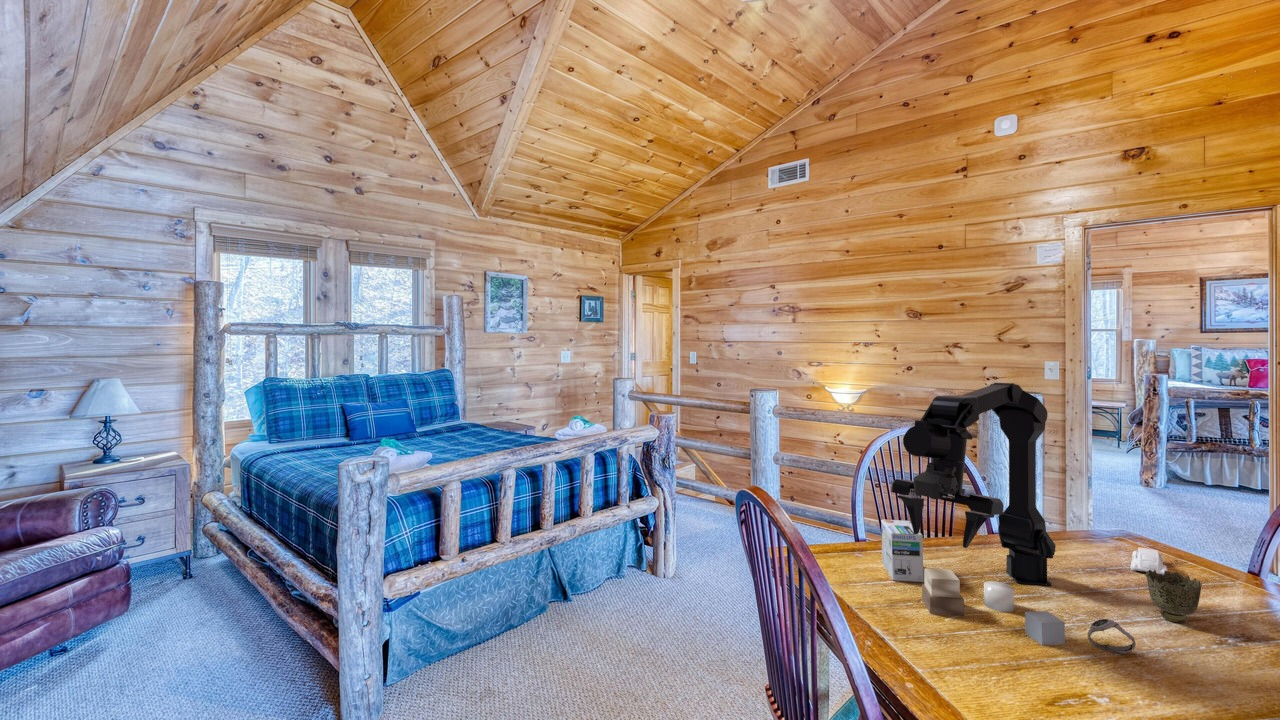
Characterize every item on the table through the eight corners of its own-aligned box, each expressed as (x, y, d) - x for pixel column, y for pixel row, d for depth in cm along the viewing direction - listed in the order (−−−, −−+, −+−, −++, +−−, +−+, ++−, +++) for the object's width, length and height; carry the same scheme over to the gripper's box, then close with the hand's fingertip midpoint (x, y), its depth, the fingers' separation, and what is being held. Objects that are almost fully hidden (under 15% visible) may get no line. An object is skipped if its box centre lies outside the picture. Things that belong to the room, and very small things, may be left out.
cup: (1186, 613, 105) (1186, 571, 104) (1212, 632, 98) (1212, 587, 97) (1138, 607, 107) (1137, 567, 107) (1159, 626, 100) (1159, 582, 100)
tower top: (951, 587, 111) (951, 570, 111) (959, 598, 106) (959, 580, 106) (924, 585, 112) (924, 568, 112) (931, 596, 107) (931, 578, 107)
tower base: (954, 603, 111) (954, 586, 111) (964, 617, 105) (964, 599, 105) (922, 600, 113) (921, 584, 113) (930, 614, 107) (929, 597, 107)
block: (1047, 632, 99) (1046, 611, 99) (1064, 644, 95) (1064, 622, 95) (1025, 633, 99) (1025, 611, 99) (1042, 645, 95) (1041, 622, 95)
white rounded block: (1168, 580, 119) (1168, 559, 119) (1130, 573, 123) (1130, 553, 123) (1165, 563, 128) (1164, 544, 128) (1129, 557, 132) (1129, 538, 132)
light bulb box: (924, 583, 121) (923, 534, 120) (892, 581, 122) (891, 533, 122) (910, 564, 131) (910, 519, 131) (880, 562, 132) (880, 518, 132)
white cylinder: (1007, 601, 111) (1007, 582, 111) (1018, 613, 106) (1018, 592, 106) (980, 599, 112) (979, 580, 112) (989, 611, 107) (989, 590, 107)
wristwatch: (1087, 640, 96) (1087, 612, 96) (1135, 651, 92) (1134, 622, 92) (1087, 648, 93) (1087, 620, 93) (1136, 661, 89) (1136, 631, 89)
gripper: (880, 450, 110) (872, 528, 109) (982, 467, 95) (973, 558, 94) (908, 453, 116) (901, 527, 115) (1008, 469, 101) (1000, 554, 100)
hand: (939, 540), depth 106 cm, fingers open, 9 cm apart
